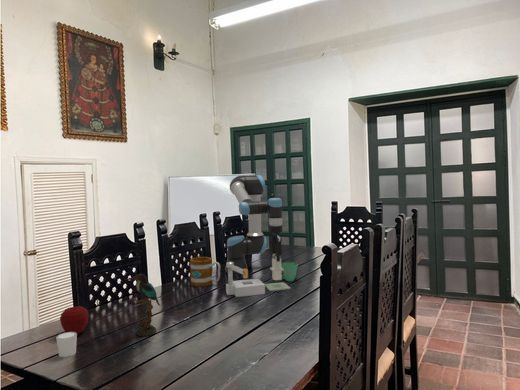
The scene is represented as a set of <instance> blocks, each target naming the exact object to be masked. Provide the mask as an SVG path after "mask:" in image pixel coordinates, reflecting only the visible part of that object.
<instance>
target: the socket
mask: <svg viewBox="0 0 520 390" xmlns="http://www.w3.org/2000/svg"><path fill="white" fill-rule="evenodd" d="M233 275H234V273H233V272H232V269H231V268H228V273H227V276H228V277H227V278H228V283H226V284H225V291H226V296H231V295H233V296H235V297H236V298H239V297H241V298H242V297H248V296H249V297H250V296H258V295H265V294H266V287H265V285H264V284H265V283H264V282H263V281H261V280H260V279H259V278H251V279H250V278H247V279H239V280H234V279H233V278H234V277H233Z"/></svg>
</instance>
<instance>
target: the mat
mask: <svg viewBox="0 0 520 390" xmlns="http://www.w3.org/2000/svg"><path fill="white" fill-rule="evenodd" d="M263 284H264V285H265V289H267V290H268V291H269V292H275V291H276V292H277V291H283V290H284V291H286V290H291V287H290V286H289V285H288V284H287V283H285V282H283V281H282V282H273V283H263Z"/></svg>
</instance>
